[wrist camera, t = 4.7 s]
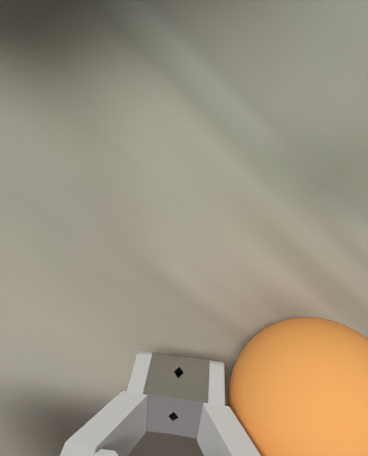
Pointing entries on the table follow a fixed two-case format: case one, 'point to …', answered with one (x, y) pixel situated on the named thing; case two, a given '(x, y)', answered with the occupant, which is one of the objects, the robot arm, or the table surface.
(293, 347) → the ball
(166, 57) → the table surface
